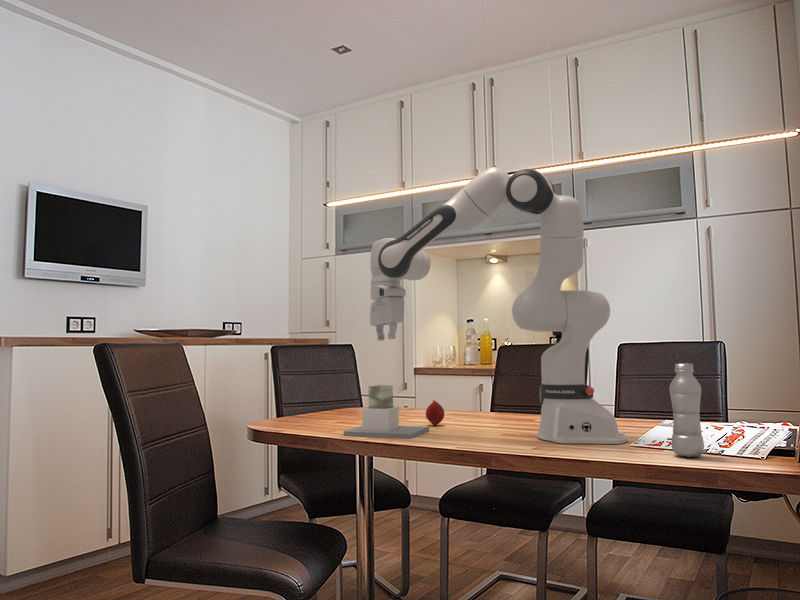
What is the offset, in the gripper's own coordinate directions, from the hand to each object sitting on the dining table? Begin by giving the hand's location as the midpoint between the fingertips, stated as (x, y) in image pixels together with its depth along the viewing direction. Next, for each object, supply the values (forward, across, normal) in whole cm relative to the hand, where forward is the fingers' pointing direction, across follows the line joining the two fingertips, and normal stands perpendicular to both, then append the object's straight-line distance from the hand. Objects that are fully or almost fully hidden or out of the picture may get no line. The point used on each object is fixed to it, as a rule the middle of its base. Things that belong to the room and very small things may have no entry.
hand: (386, 339), depth 182 cm
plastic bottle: (+28, +66, +45) cm, 85 cm away
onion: (+27, -7, +18) cm, 33 cm away
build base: (+27, +2, -1) cm, 27 cm away
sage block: (+19, +1, -2) cm, 19 cm away
